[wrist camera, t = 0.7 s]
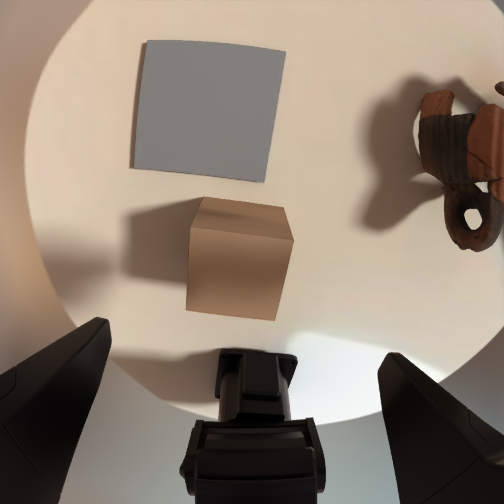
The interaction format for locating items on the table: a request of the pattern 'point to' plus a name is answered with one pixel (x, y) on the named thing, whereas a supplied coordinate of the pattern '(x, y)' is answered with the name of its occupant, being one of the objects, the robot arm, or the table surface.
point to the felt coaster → (207, 108)
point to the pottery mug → (465, 165)
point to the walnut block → (238, 259)
